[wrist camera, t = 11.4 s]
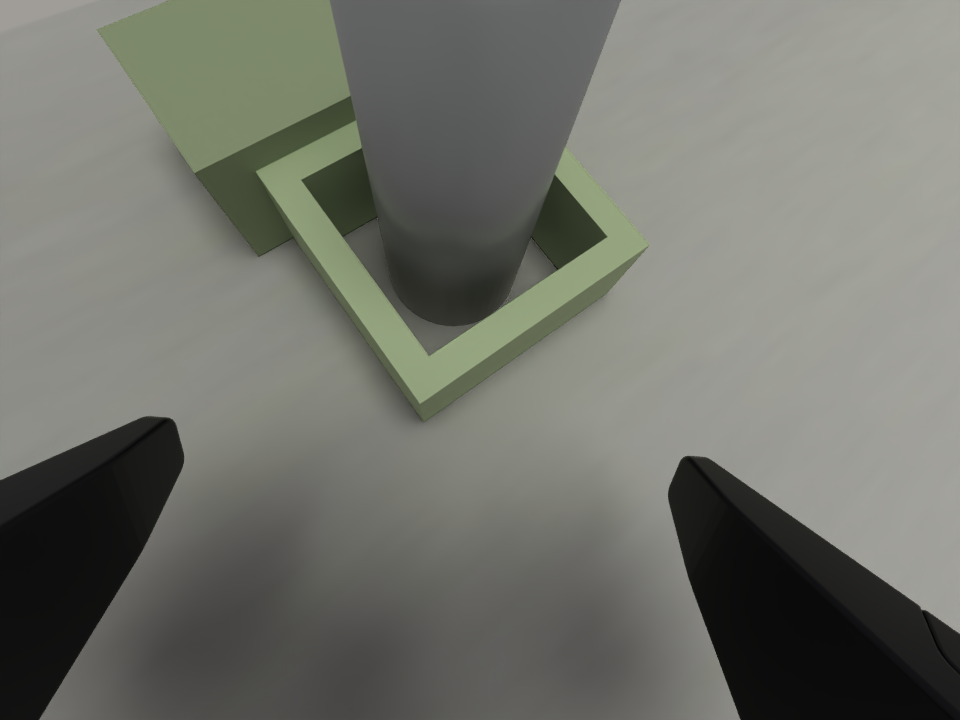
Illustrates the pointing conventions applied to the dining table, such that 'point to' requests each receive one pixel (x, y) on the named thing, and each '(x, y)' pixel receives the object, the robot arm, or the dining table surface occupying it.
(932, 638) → the robot arm
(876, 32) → the dining table surface
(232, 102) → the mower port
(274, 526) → the dining table surface
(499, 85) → the grey rounded post
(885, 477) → the dining table surface
